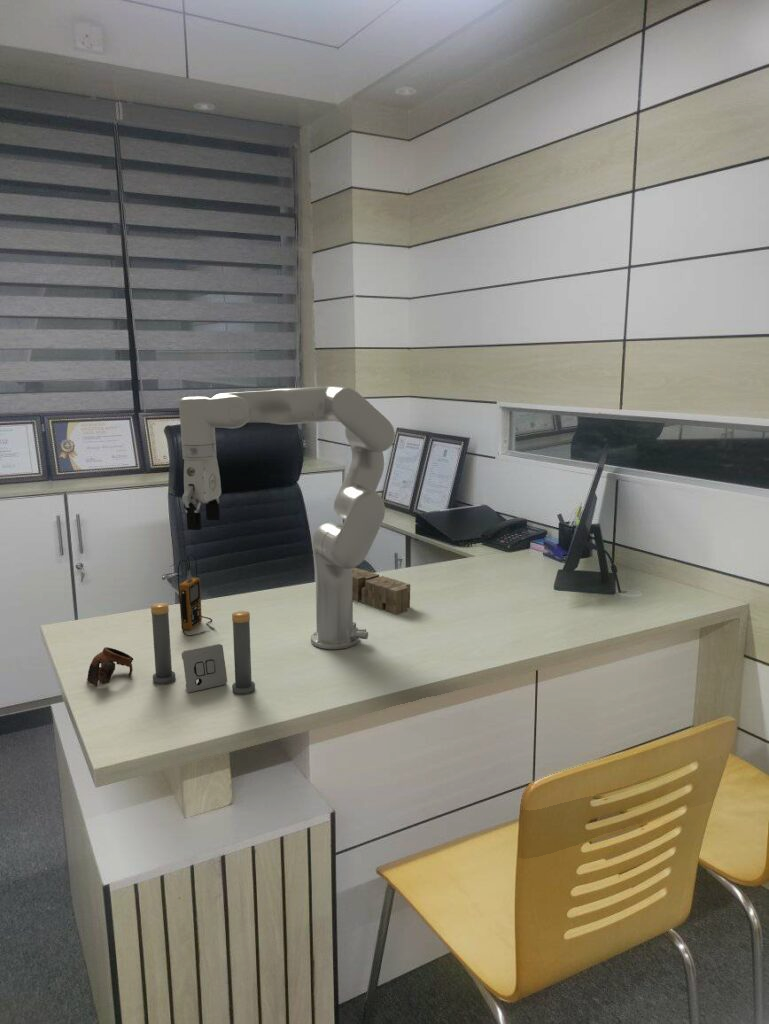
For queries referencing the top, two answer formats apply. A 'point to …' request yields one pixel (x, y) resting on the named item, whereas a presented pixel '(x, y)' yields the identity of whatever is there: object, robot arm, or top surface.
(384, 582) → the block tower
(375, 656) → the top surface
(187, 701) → the top surface
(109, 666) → the brown curved hollow piece
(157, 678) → the post far
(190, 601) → the multimeter
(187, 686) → the electrical switch
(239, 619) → the post near
